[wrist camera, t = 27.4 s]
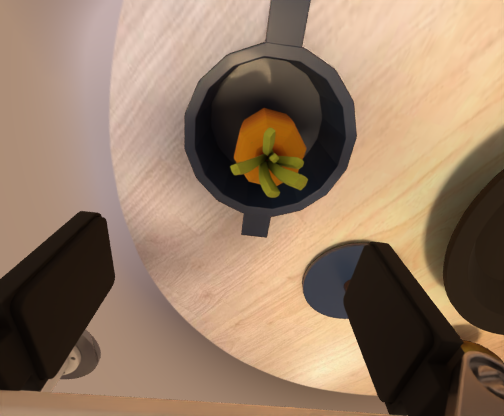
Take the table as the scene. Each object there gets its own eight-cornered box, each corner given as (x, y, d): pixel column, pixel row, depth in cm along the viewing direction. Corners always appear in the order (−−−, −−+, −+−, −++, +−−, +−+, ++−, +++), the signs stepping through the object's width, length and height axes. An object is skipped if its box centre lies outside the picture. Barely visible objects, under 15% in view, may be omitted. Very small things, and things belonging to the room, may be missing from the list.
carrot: (230, 127, 27) (207, 189, 14) (260, 84, 25) (266, 111, 12) (268, 155, 29) (279, 237, 15) (300, 117, 27) (343, 173, 14)
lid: (293, 307, 41) (298, 342, 36) (314, 234, 34) (324, 264, 29) (379, 316, 41) (396, 351, 36) (417, 246, 35) (443, 277, 30)
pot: (201, 192, 31) (184, 233, 24) (207, 1, 23) (184, -27, 15) (306, 204, 32) (322, 248, 25) (352, 23, 23) (398, 7, 16)
